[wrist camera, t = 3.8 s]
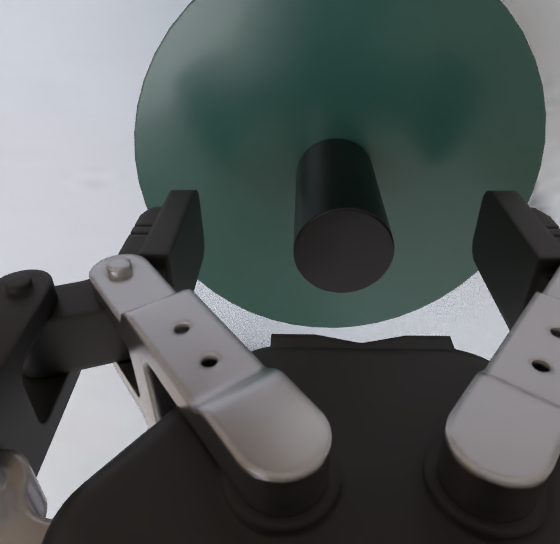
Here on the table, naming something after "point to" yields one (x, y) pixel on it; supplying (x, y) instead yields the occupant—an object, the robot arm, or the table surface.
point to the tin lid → (339, 146)
